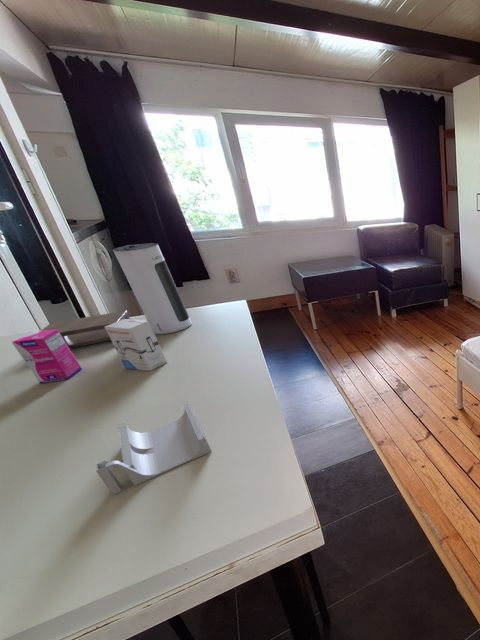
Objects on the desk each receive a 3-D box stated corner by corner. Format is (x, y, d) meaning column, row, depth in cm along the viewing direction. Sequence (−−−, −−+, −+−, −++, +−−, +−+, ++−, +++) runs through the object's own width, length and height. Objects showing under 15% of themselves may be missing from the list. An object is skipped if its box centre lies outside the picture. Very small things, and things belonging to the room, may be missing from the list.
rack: (44, 357, 101) (31, 337, 98) (61, 341, 111) (50, 323, 108) (126, 341, 108) (116, 322, 106) (135, 327, 118) (126, 310, 115)
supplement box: (39, 384, 87) (9, 341, 82) (56, 372, 92) (29, 331, 87) (68, 380, 89) (41, 337, 83) (83, 368, 94) (58, 328, 89)
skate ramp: (211, 451, 64) (200, 428, 61) (112, 495, 56) (95, 471, 53) (195, 415, 74) (184, 394, 71) (109, 448, 66) (94, 425, 63)
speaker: (176, 334, 111) (137, 248, 99) (143, 335, 112) (100, 249, 100) (199, 321, 121) (166, 240, 109) (169, 322, 121) (133, 242, 109)
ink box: (124, 368, 93) (101, 326, 88) (143, 359, 97) (122, 318, 92) (150, 371, 91) (128, 328, 86) (169, 361, 95) (149, 320, 90)
